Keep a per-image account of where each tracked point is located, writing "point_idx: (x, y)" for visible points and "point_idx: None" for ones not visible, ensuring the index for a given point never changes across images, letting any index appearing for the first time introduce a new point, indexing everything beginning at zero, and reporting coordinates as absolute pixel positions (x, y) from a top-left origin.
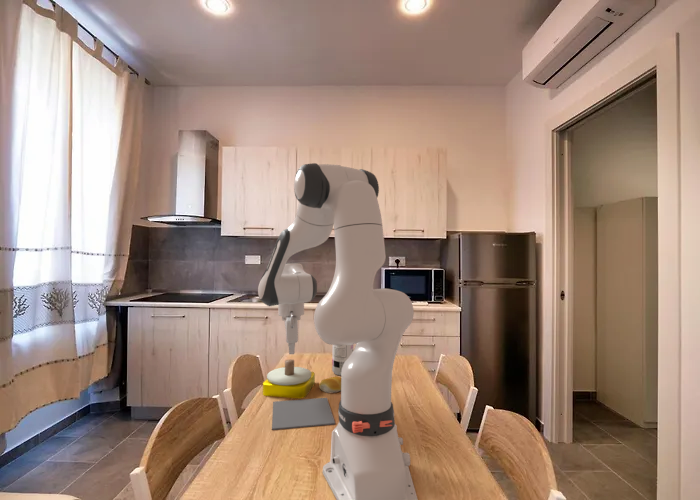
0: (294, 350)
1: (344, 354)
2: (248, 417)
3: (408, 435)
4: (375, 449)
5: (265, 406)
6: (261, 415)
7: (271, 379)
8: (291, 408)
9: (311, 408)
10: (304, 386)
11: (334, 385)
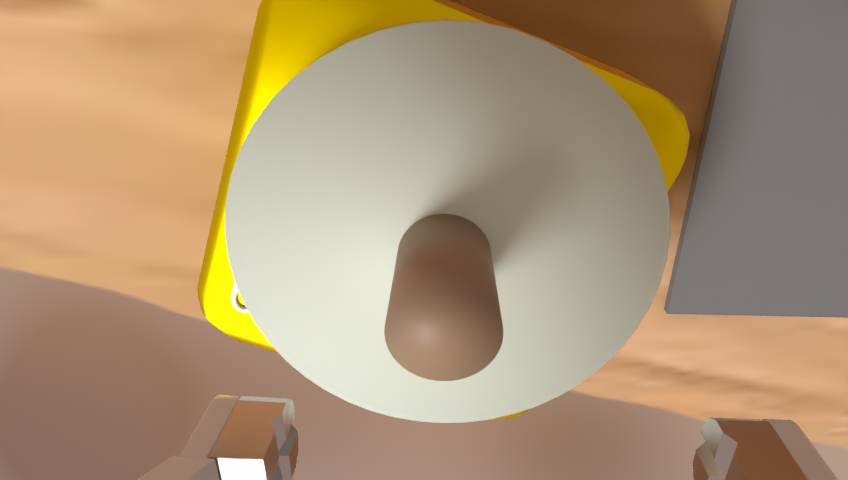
0: (820, 459)
1: None
2: (808, 423)
3: None
4: None
5: (699, 349)
6: (818, 367)
7: (552, 395)
8: (839, 203)
9: None
10: (679, 109)
11: None
